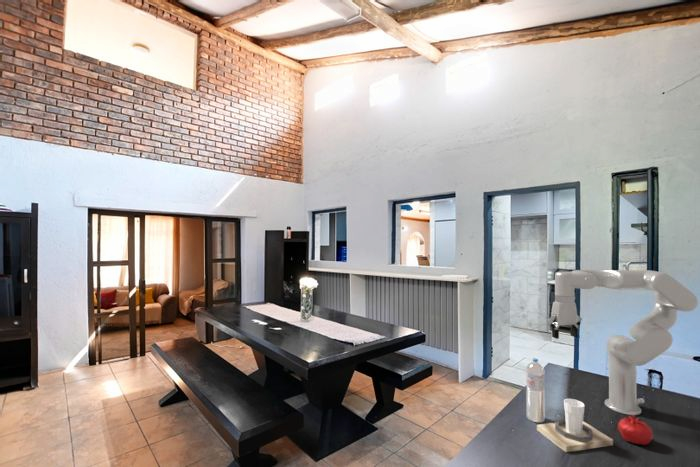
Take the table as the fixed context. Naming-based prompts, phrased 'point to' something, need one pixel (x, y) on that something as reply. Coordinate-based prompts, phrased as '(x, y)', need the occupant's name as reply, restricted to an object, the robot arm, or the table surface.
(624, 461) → the table surface
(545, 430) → the seat board
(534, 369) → the water bottle
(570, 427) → the cup
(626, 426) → the pomegranate
